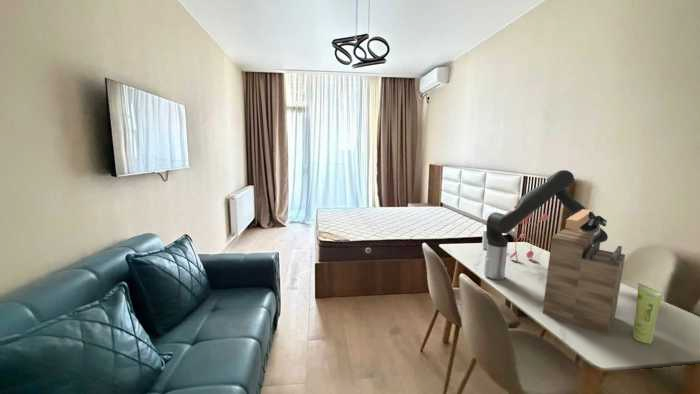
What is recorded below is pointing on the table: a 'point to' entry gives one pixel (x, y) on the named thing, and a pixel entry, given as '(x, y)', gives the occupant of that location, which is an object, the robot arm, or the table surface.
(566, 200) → the robot arm
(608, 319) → the wooden knife block
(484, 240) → the supplement box
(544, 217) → the figurine
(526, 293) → the table surface
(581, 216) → the bar
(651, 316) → the tube
